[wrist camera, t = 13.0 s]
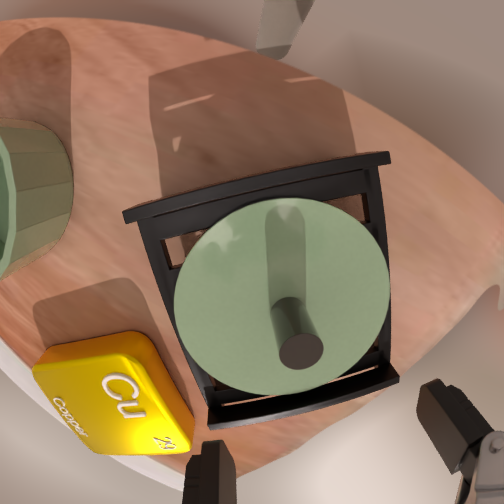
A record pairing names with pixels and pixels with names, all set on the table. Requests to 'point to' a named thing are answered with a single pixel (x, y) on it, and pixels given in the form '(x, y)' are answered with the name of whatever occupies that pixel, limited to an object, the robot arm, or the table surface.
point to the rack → (239, 195)
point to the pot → (31, 192)
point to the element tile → (116, 395)
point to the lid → (281, 296)
